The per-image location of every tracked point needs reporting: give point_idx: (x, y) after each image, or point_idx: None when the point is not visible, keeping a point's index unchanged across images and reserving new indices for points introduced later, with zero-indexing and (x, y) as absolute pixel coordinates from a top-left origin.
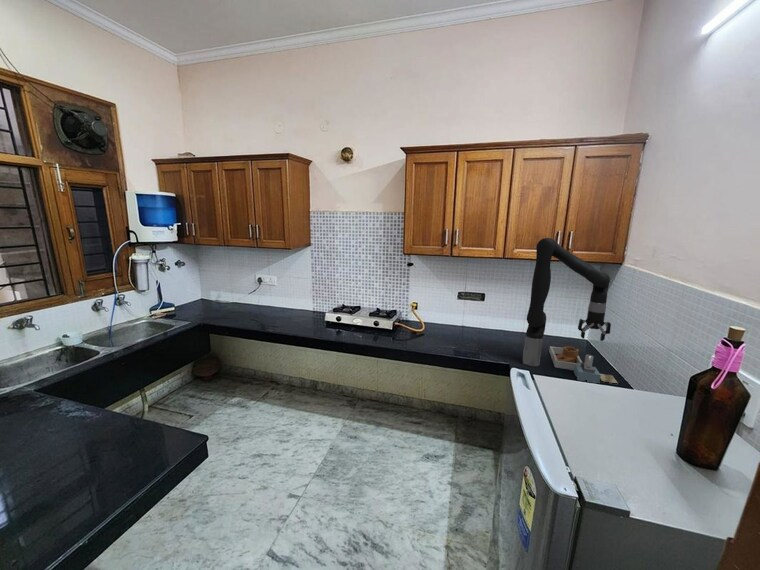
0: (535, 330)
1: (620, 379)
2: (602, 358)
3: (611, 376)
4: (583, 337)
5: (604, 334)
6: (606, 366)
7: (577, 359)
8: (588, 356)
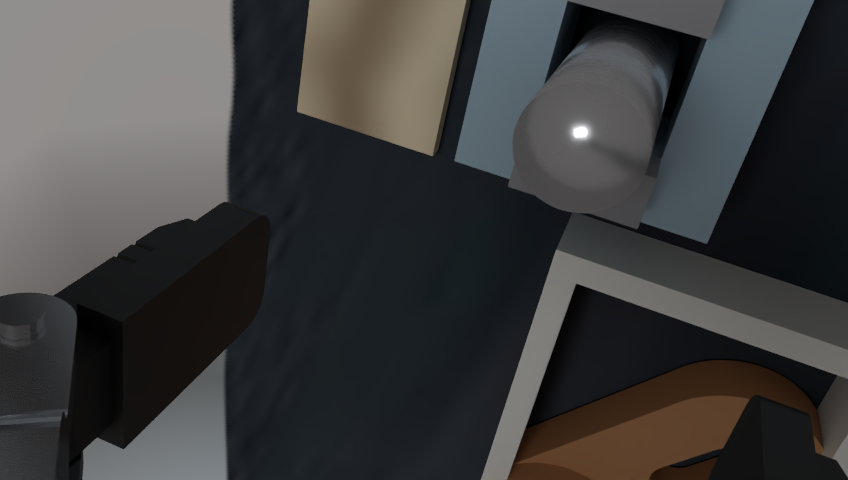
0: None
1: (246, 55)
2: (229, 477)
3: (316, 87)
4: (790, 427)
5: (49, 298)
6: (260, 333)
7: (525, 427)
8: (625, 112)
